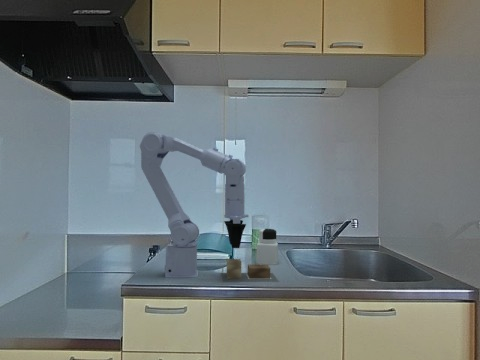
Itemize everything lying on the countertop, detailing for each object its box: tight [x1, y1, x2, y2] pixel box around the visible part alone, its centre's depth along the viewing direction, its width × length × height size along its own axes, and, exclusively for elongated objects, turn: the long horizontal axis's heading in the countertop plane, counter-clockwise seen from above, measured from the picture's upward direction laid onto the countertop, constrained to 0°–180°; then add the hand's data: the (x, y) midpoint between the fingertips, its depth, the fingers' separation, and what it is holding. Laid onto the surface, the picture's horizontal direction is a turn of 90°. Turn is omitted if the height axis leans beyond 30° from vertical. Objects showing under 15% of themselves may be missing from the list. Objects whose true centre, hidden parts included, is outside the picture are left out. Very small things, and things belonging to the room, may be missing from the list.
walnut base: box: [247, 263, 271, 279], centre depth 141 cm, size 6×6×3 cm
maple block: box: [226, 258, 242, 279], centre depth 139 cm, size 4×4×5 cm
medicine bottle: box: [255, 228, 279, 266], centre depth 164 cm, size 7×7×12 cm
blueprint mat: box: [220, 272, 280, 283], centre depth 139 cm, size 16×12×1 cm
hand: (234, 246), depth 139 cm, fingers open, 7 cm apart
